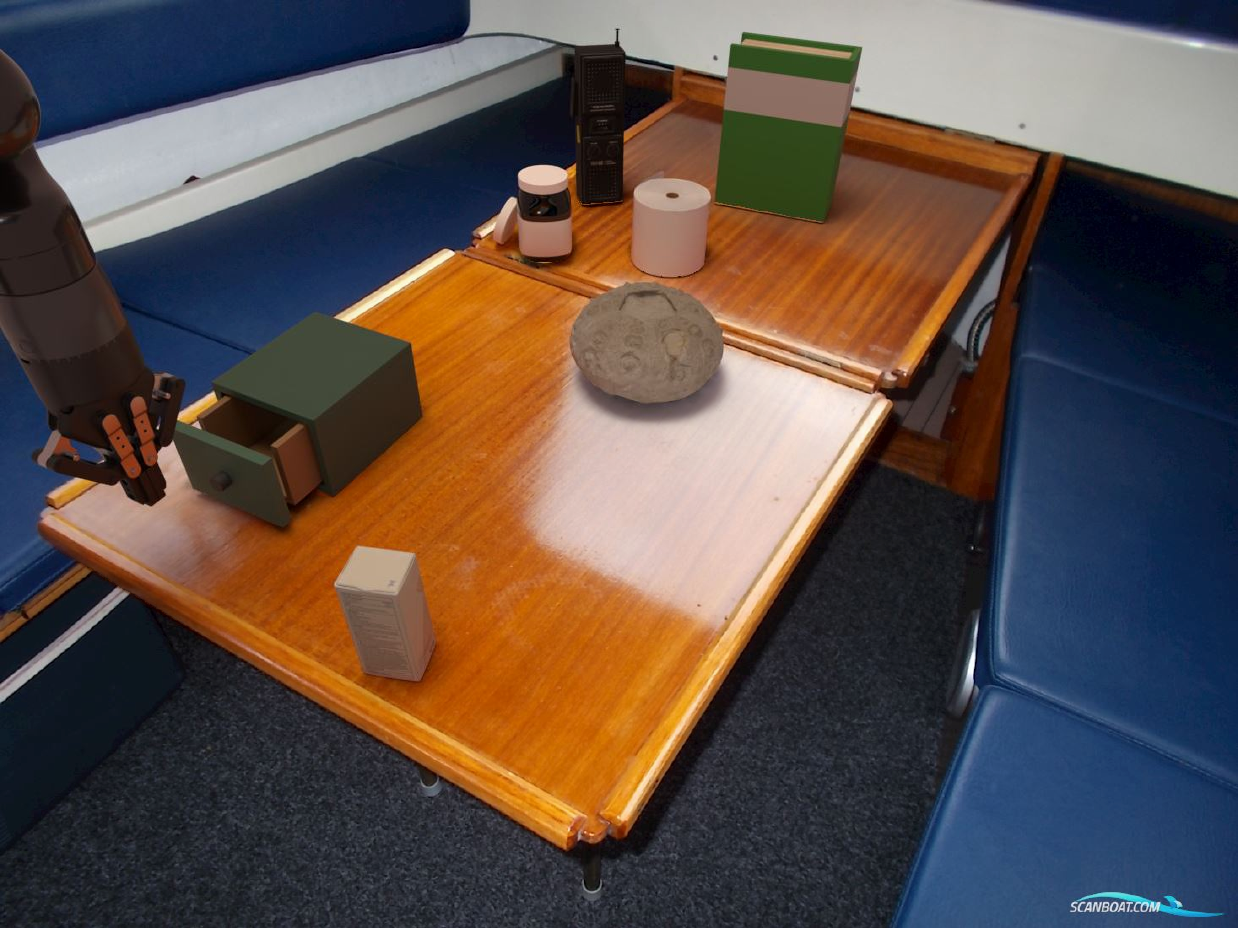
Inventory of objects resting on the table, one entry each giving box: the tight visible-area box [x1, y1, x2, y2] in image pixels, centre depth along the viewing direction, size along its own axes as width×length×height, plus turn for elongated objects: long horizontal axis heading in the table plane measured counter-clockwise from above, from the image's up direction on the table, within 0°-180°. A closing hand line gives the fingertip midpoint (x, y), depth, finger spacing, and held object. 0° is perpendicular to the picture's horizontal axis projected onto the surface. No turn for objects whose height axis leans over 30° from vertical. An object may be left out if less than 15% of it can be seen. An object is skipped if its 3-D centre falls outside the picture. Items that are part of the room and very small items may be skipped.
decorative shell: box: [569, 280, 725, 405], centre depth 99 cm, size 18×18×10 cm
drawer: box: [172, 394, 323, 529], centre depth 85 cm, size 15×12×8 cm
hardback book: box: [713, 31, 863, 222], centre depth 131 cm, size 18×7×24 cm, turn 69°
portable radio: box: [569, 28, 627, 204], centre depth 131 cm, size 8×6×25 cm
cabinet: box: [210, 311, 424, 498], centre depth 90 cm, size 15×13×10 cm
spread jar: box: [492, 164, 573, 263], centre depth 122 cm, size 12×11×12 cm
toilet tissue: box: [630, 170, 712, 278], centre depth 122 cm, size 11×12×10 cm
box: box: [333, 545, 437, 682], centre depth 68 cm, size 5×4×11 cm
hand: (151, 498), depth 73 cm, fingers closed
